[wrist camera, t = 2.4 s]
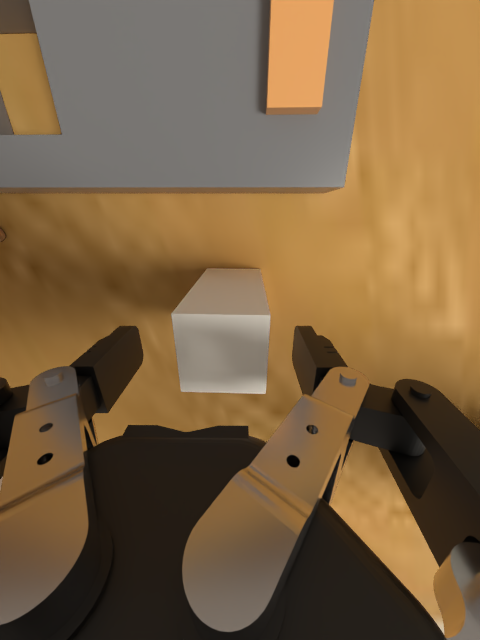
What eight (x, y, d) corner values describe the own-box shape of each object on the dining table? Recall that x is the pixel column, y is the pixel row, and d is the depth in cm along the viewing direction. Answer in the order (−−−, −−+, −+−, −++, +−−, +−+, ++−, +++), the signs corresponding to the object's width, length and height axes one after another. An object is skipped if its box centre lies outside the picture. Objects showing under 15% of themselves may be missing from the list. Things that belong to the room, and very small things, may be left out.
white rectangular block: (260, 268, 18) (270, 314, 9) (258, 317, 19) (265, 393, 11) (207, 268, 18) (171, 313, 9) (209, 316, 19) (181, 391, 11)
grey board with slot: (355, -42, 11) (411, -179, 7) (324, 193, 15) (350, 185, 11) (-82, -29, 12) (-244, -149, 8) (-1, 193, 16) (-81, 185, 12)
